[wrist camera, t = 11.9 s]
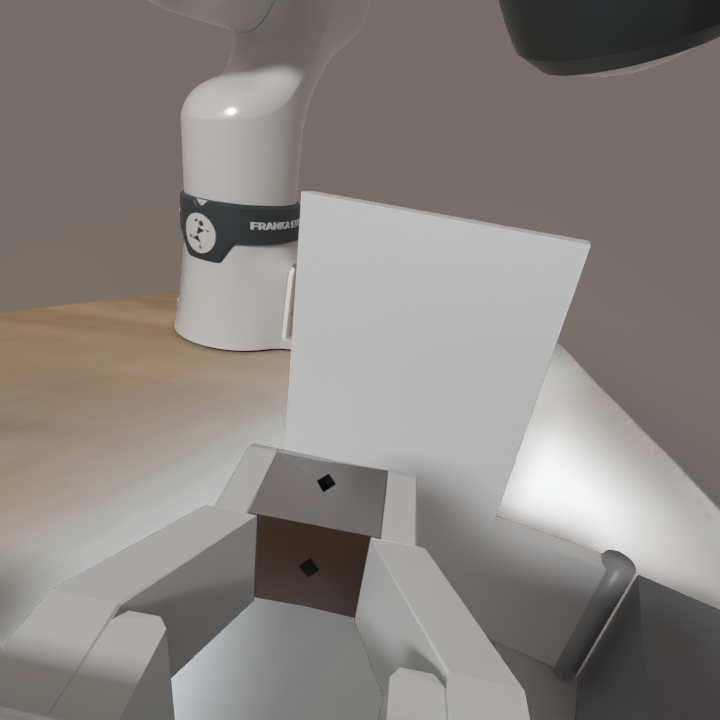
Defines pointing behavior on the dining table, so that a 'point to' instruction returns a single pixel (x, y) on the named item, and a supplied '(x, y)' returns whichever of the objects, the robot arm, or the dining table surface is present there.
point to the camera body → (654, 660)
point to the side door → (447, 398)
